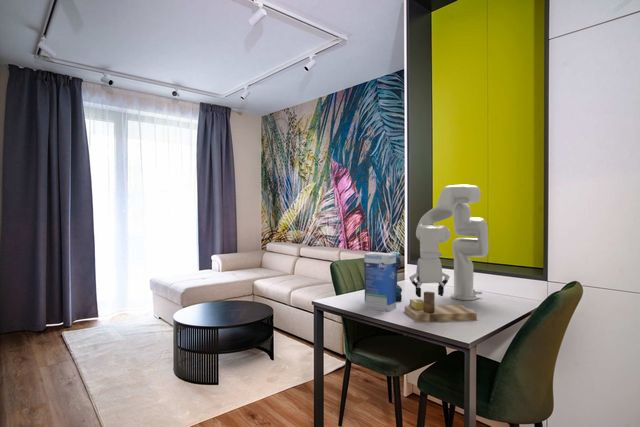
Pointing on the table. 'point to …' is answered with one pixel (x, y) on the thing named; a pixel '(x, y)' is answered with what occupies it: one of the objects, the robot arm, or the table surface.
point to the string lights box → (380, 281)
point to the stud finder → (417, 303)
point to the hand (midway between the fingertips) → (429, 296)
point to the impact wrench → (398, 264)
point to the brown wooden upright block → (429, 302)
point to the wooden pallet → (442, 313)
